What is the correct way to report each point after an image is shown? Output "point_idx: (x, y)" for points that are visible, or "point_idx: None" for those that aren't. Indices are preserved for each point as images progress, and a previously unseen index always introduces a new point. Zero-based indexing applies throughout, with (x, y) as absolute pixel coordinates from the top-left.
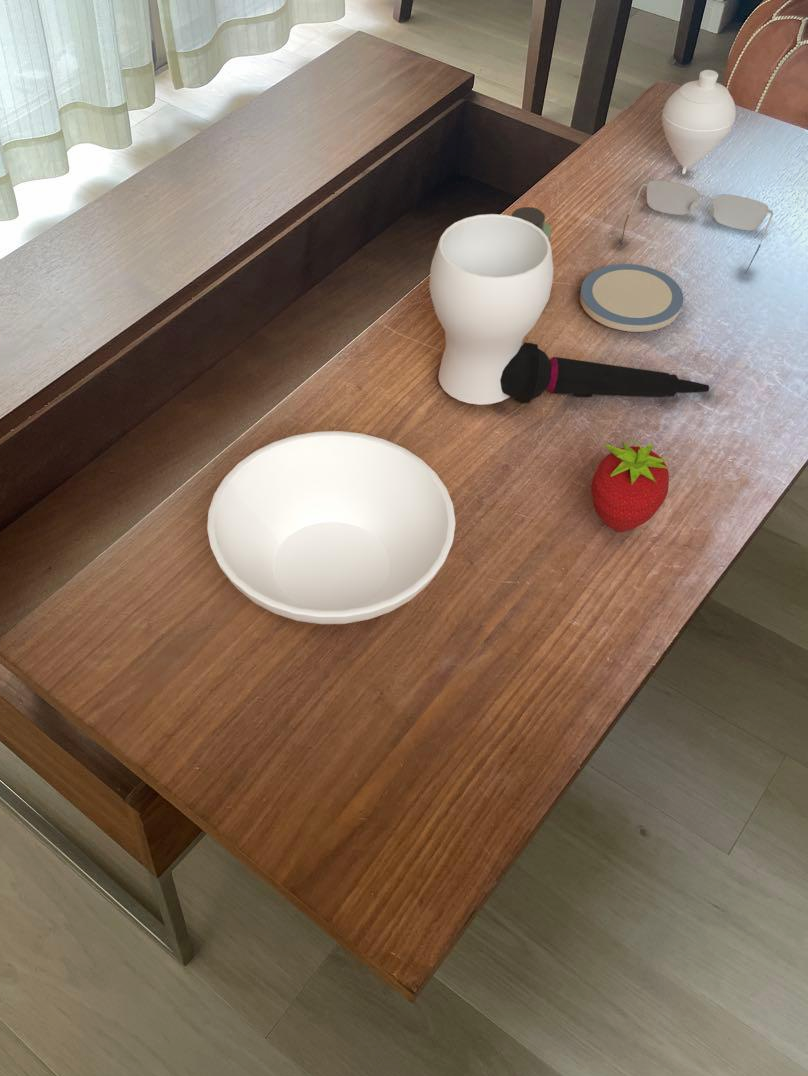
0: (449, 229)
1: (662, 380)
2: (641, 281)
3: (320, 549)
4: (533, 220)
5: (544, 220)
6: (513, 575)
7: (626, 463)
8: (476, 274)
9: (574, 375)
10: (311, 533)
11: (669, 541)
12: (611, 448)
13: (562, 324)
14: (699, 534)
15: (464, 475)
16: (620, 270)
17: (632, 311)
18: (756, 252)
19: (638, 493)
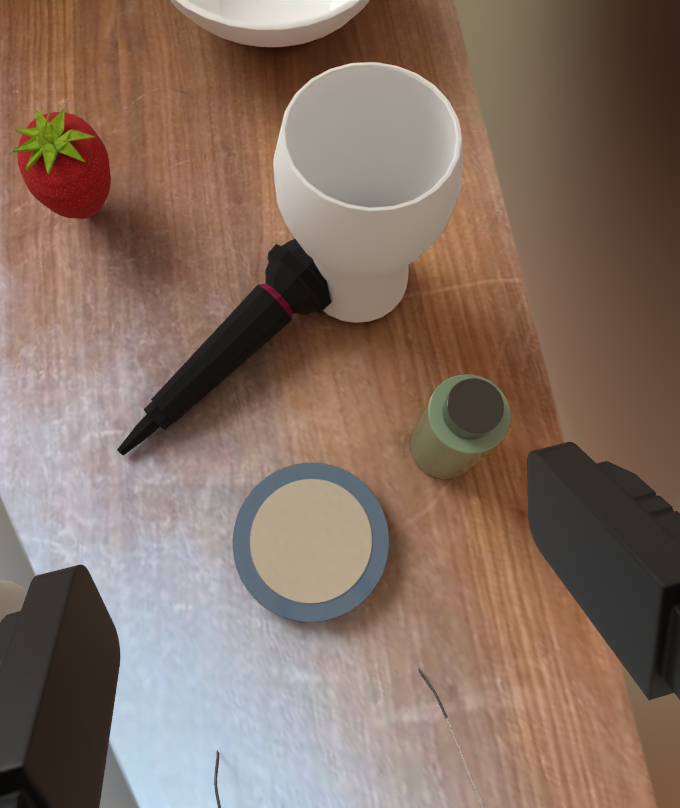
0: (454, 121)
1: (161, 393)
2: (317, 575)
3: (296, 9)
4: (460, 401)
5: (450, 420)
6: (141, 105)
7: (57, 127)
8: (339, 67)
9: (244, 303)
10: (317, 15)
11: (39, 230)
12: (84, 135)
13: (354, 439)
14: (17, 257)
15: (264, 165)
16: (359, 575)
17: (283, 501)
18: (215, 788)
19: (32, 124)
